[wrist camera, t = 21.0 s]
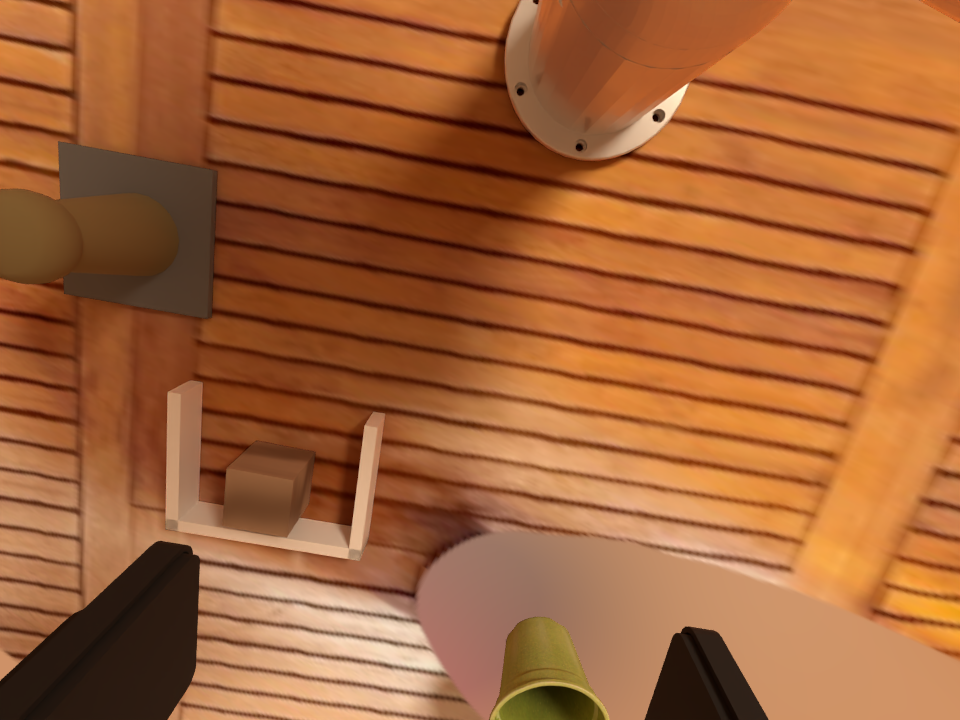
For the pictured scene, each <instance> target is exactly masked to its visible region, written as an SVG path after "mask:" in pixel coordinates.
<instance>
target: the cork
mask: <svg viewBox="0 0 960 720" xmlns="http://www.w3.org/2000/svg"><path fill="white" fill-rule="evenodd" d="M178 245H179V237H178V232H177V227H176V225H175V223H174V221H173V219H172V217H171V215H170V214H169V213H168V212H167V210H166V209H165V208H164V207H163V206H162V205H161V204H160V203H158V202H157V201H155V200H154V199H152V198H150V197H149V196H145V195H142V194H138V193H122V194H111V195H101V196H90V197H80V198H70V199H59V200H54V199H52V198H50V197H48V196H45V195H43V194H40V193H36V192H33V191H29V190H25V189H1V190H0V277H1V278H3V279H6V280H10V281H13V282H17V283H23V284H42V283H49V282H52V281H55V280H57V279H60V278H62V277H64V276H66V275H68V274H70V273H71V272H73V273H92V274H110V275H129V276H153V275H156V274H158V273H161V272H164V271H165V270H166V269H167V268H168V267H169V266H170V265H171V264H172V263H173V261H174V259H175V257H176V255H177V253H178Z"/></svg>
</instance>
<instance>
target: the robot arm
mask: <svg viewBox="0 0 960 720" xmlns="http://www.w3.org/2000/svg"><path fill="white" fill-rule="evenodd" d="M791 1H792V0H539V3H538V4H535V3H533V0H520V2H519V4H518V6H517V9H516V11H515V13H514V15H513V17H512V20H511V23H510V27H509V31H508V35H507V39H506V46H505V79H506V85H507V90H508V94H509V97H510V100H511V103H512V105H513V108H514V111H515V112H516V114H517V116H518V117H519V119H520V121H521V122H522V124H523V126H524V127H525V128H526V129H527V130H528V131H529V133H530V134H531V135H532V136H533V137H534V138H535V139H536V140H537V141H538V142H540V143H541V144H542V145H544V146H545V147H546V148H548V149H549V150H551V151H553V152H556V153H558V154H560V155H562V156H564V157H568V158H572V159H576V160H581V161H600V160H606V159H612V158H616V157H618V156H621V155H624V154H626V153H629V152H631V151H633V150H635V149H636V148H638V147H640V146H642V145H643V144H645V143H646V142H647V141H649V140H650V139H651V138H653V137H654V136H655V135H657V134H658V133H659V132H660V131H661V130H662V129H663V128H664V127H665V126H666V125H667V123H668V122H669V121H670V119H671V118H672V116H673V115H674V113H675V112H676V110H677V109H678V107H679V106H680V104H681V102H682V100H683V98H684V95H685V93H686V91H687V89H688V86H689V83H690V82H691V81H692V80H693V79H695V78H696V77H697V76H699V75H700V74H702V73H703V72H704V71H706V70H707V69H708V68H710V67H711V66H712V65H714V64H715V63H717V62H718V61H719V60H721V59H722V58H723V57H725V56H726V55H728V54H729V53H730V52H732V51H733V50H734V49H736V48H737V47H739V46H740V45H742V44H743V43H744V42H746V41H747V40H748V39H750V38H751V37H752V36H754V35H755V34H756V33H758V32H759V31H760V30H762V29H763V28H764V27H765V26H766V25H768V24H769V23H770V22H771V21H772V20H773V19H774V18H775V17H776V16H778V15H779V14H780V13H781V12H782V11H783V10H784V8H785V7H786V6H787V5H788V4H789V3H790V2H791ZM919 1H921V2H923V3H925V4H927V5H928V6H930V7H932V8H934V9H936V10H937V11H939V12H941V13H943V14H944V15H946V16H948V17H950V18H952V19H953V20H955V21H957V22H959V23H960V0H919ZM518 89H522V90H523V91H524V94H523V95H522V96H519V95H518V94H517V90H518ZM653 115H656V116H657V117H658V120H657V122H654V121H653V119H652V116H653ZM577 144H580V145H581V146H582V150H581V151H577V150H576V145H577ZM199 569H200V559H199V556H197V555H193V551H192V548H191V546H188V545H182V544H176V543H170V542H164V541H158V542H156V543H154V544H153V545H152V546H150V547H149V548H148V549H147V550H146V551H145V552H144V553H143V554H142V555H141V556H140V557H139V558H138V559H137V560H136V561H135V562H133V563H132V564H131V565H130V566H129V567H128V568H127V569H126V570H125V571H124V572H123V573H122V574H121V575H120V576H119V577H117V578H116V579H115V580H114V581H113V582H112V583H111V584H110V585H109V586H108V587H107V588H106V589H105V590H104V591H103V592H102V593H100V594H99V595H98V596H97V597H96V598H95V599H94V600H93V601H92V602H91V603H90V604H89V605H88V606H87V607H86V608H84V609H83V610H81V611H79V612H76V613H74V614H73V615H72V616H71V617H69V618H68V619H67V620H65V621H64V622H63V623H62V624H61V625H60V626H59V627H58V628H57V629H56V630H55V631H54V632H52V633H51V634H50V635H49V636H48V637H47V638H46V639H45V640H44V641H43V642H42V643H41V644H39V645H38V646H37V647H36V648H35V649H34V650H33V651H32V652H31V653H30V654H29V655H28V656H27V657H25V658H24V659H23V660H22V661H21V662H20V663H19V664H18V665H17V666H16V667H15V668H14V669H13V670H11V671H10V672H9V673H8V674H7V675H6V676H5V677H4V678H3V679H2V680H1V681H0V720H167V719H168V718H169V716H170V715H171V713H172V712H173V710H174V708H175V707H176V705H177V704H178V702H179V701H180V699H181V698H182V696H183V695H184V693H185V692H186V690H187V688H188V687H189V685H190V683H191V681H192V678H193V675H194V672H195V668H196V650H197V623H198V596H199ZM645 720H768V718H767V716H766V714H765V713H764V711H763V709H762V707H761V706H760V704H759V702H758V701H757V699H756V697H755V695H754V693H753V692H752V690H751V688H750V686H749V685H748V683H747V681H746V679H745V678H744V676H743V674H742V672H741V671H740V669H739V667H738V666H737V664H736V662H735V660H734V659H733V657H732V655H731V653H730V651H729V650H728V648H727V646H726V644H725V643H724V641H723V639H722V637H721V636H720V635H719V633H717V632H716V631H713V630H706V629H700V628H694V627H685V628H683V629H682V632H681V633H676V634H674V636H673V638H672V640H671V643H670V647H669V649H668V652H667V655H666V658H665V661H664V664H663V667H662V670H661V673H660V676H659V679H658V682H657V685H656V688H655V691H654V694H653V697H652V700H651V702H650V705H649V708H648V711H647V714H646V718H645Z"/></svg>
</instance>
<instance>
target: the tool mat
mask: <svg viewBox="0 0 960 720" xmlns="http://www.w3.org/2000/svg"><path fill="white" fill-rule="evenodd" d="M58 150H59V176H60V199H70V198H80V197H90V196H101V195H111V194H122V193H138V194H142V195H145V196H149V197H150V198H152V199H154V200H155V201H157V202H158V203H160V204H161V205H162V206H163V207H164V208H165V209H166V210H167V212H168V213H169V214H170V215H171V217H172V219H173V221H174V223H175V225H176V227H177V232H178V237H179V245H178V253H177V255H176V257H175V259H174V261H173V263H172V264H171V265H170V266H169V267H168V268H167V269H166V270H165V271H164V272H161V273H158V274H156V275H153V276H129V275H110V274H92V273H73V272H71V273H70V274H68V275H66V276H64V277H63V279H64V294H69V295H74V296H80V297H86V298H91V299H97V300H103V301H108V302H114V303H120V304H126V305H131V306H137V307H143V308H148V309H154V310H160V311H165V312H171V313H177V314H183V315H188V316H194V317H200V318H205V319H209V318H212V295H213V269H214V243H215V217H216V191H217V171H216V170H211V169H206V168H200V167H195V166H189V165H184V164H178V163H173V162H168V161H162V160H157V159H151V158H146V157H140V156H135V155H130V154H124V153H119V152H113V151H108V150H102V149H97V148H92V147H86V146H81V145H75V144H70V143H65V142H59V141H58Z"/></svg>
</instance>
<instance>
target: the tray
mask: <svg viewBox="0 0 960 720" xmlns="http://www.w3.org/2000/svg"><path fill="white" fill-rule="evenodd" d="M202 395H203V382H199V381H193V380H190V381H188V382H186V383H184V384H182V385H180V386H178V387H176V388H174V389H172V390H170V391H168V395H167V458H166V521H165V529H167V530H173V531H179V532H185V533H191V534H197V535H203V536H210V537H216V538H222V539H228V540H234V541H240V542H246V543H253V544H259V545H265V546H271V547H277V548H283V549H289V550H296V551H302V552H308V553H314V554H320V555H326V556H332V557H339V558H345V559H351V560H357V561H360V559H361V557H362V554H363V551H364V549H365V546H366V544H367V541H368V537H369V530H370V523H371V516H372V508H373V501H374V494H375V486H376V479H377V472H378V464H379V457H380V450H381V443H382V435H383V428H384V421H385V413H379V412H373V413H372V415H371V416H370V418H369V419H368V421H367V422H366V424H365V426H364V434H363V442H362V450H361V458H360V466H359V474H358V482H357V490H356V498H355V506H354V514H353V521H352V526H347V525H341V524H335V523H329V522H323V521H317V520H311V519H305V518H299V520H298V521H297V523H296V524H295V526H294V527H293V529H292V530H291V532H290V534H289V535H288V537H287V538H286V537H280V536H275V535H269V534H264V533H258V532H253V531H248V530H242V529H237V528H231V527H226V526H222V521H223V509H224V505H220V504H214V503H207V502H201V501H199V480H200V452H201V424H202Z"/></svg>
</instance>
